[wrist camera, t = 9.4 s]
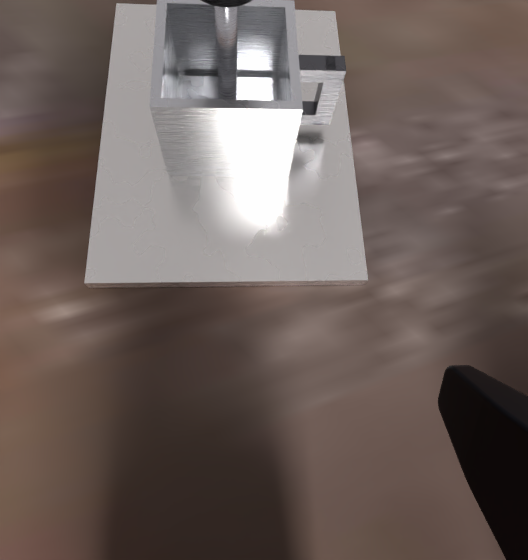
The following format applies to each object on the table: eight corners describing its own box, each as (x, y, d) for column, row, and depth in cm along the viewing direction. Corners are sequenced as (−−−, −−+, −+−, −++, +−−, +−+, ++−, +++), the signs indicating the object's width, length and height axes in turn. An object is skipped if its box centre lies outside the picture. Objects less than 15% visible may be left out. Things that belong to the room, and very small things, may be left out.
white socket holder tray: (363, 284, 23) (407, 236, 18) (89, 288, 22) (36, 237, 16) (332, 21, 30) (356, -79, 24) (119, 14, 29) (89, -92, 23)
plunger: (275, 158, 24) (303, -34, 14) (181, 157, 24) (141, -41, 14) (271, 84, 26) (294, -133, 16) (183, 82, 26) (150, -141, 15)
